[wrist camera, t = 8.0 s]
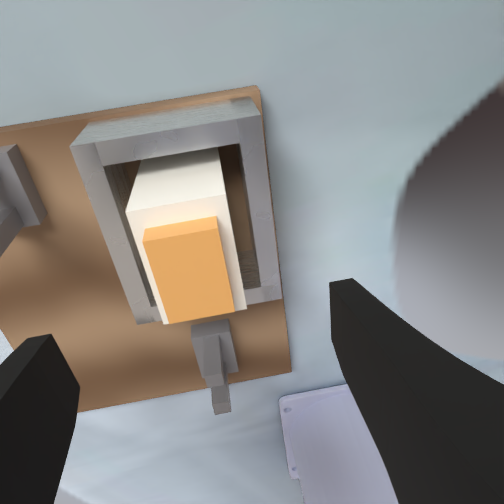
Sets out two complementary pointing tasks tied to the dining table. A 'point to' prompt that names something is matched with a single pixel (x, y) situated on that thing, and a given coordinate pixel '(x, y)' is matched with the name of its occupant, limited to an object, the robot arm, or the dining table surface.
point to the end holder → (166, 143)
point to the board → (117, 277)
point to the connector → (186, 235)
